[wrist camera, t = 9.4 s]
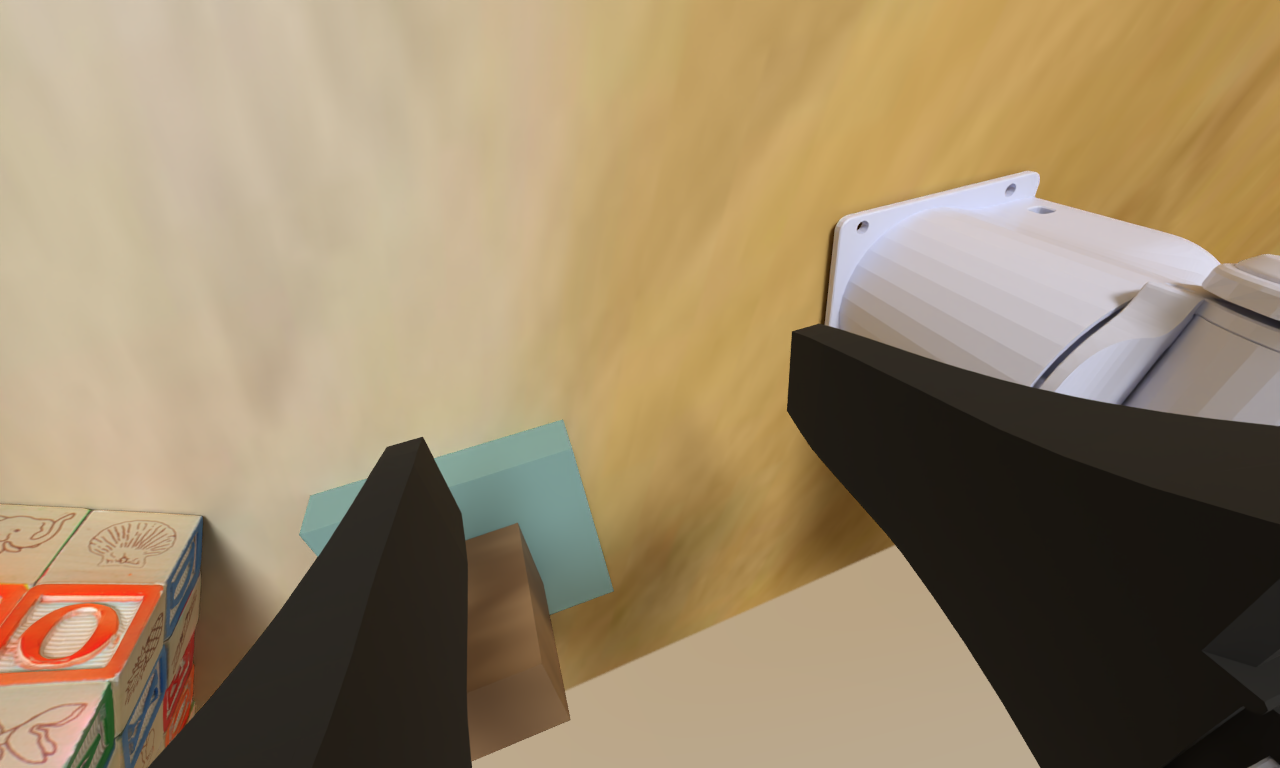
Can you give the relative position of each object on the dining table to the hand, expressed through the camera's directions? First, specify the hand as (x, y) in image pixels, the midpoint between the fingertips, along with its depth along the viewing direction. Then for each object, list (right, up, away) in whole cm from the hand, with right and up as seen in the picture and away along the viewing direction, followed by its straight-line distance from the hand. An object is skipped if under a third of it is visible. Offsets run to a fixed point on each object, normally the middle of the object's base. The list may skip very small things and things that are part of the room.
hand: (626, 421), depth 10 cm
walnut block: (-7, -7, +12) cm, 16 cm away
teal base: (-7, -6, +14) cm, 17 cm away
